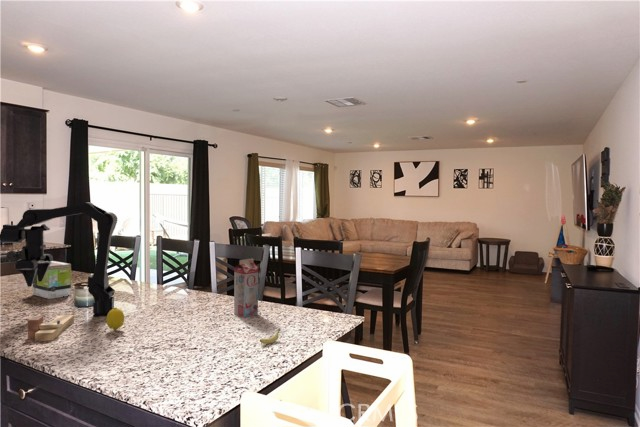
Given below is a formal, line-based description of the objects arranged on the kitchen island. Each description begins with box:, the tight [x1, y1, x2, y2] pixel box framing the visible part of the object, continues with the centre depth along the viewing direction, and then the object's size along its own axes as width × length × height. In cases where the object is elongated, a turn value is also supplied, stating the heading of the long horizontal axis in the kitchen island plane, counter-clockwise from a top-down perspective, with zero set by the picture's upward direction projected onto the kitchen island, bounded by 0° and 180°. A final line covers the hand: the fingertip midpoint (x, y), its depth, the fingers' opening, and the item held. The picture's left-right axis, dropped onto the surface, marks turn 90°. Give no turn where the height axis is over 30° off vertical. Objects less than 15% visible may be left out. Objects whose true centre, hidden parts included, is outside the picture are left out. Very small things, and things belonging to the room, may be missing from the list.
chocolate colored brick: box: [27, 315, 62, 340], centre depth 140 cm, size 9×4×6 cm, turn 103°
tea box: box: [32, 260, 72, 300], centre depth 194 cm, size 15×10×15 cm, turn 58°
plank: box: [34, 314, 75, 342], centre depth 145 cm, size 5×20×2 cm, turn 13°
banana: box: [259, 327, 281, 345], centre depth 138 cm, size 8×2×4 cm, turn 137°
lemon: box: [106, 307, 125, 331], centre depth 147 cm, size 6×6×8 cm
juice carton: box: [233, 258, 259, 318], centre depth 169 cm, size 7×7×22 cm
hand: (35, 283), depth 160 cm, fingers open, 9 cm apart
